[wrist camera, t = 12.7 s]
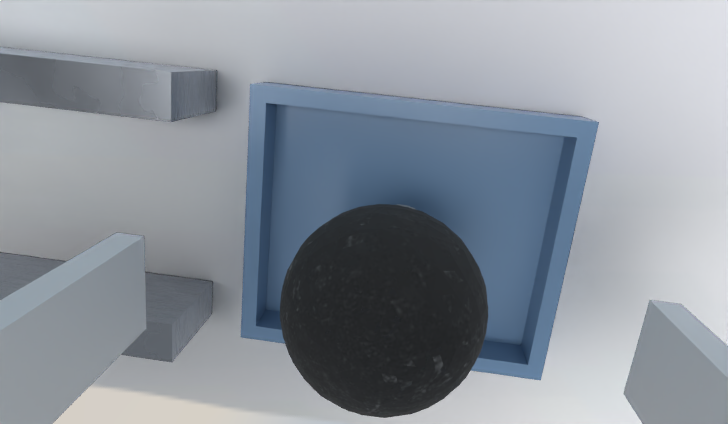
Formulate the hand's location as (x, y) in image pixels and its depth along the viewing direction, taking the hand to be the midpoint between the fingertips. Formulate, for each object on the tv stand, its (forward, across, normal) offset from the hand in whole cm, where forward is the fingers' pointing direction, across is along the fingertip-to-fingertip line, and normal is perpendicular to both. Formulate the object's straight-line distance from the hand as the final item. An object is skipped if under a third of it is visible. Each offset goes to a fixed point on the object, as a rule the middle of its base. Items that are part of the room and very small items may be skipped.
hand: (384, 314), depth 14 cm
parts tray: (+8, 0, 0) cm, 8 cm away
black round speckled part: (+8, 0, 0) cm, 8 cm away
